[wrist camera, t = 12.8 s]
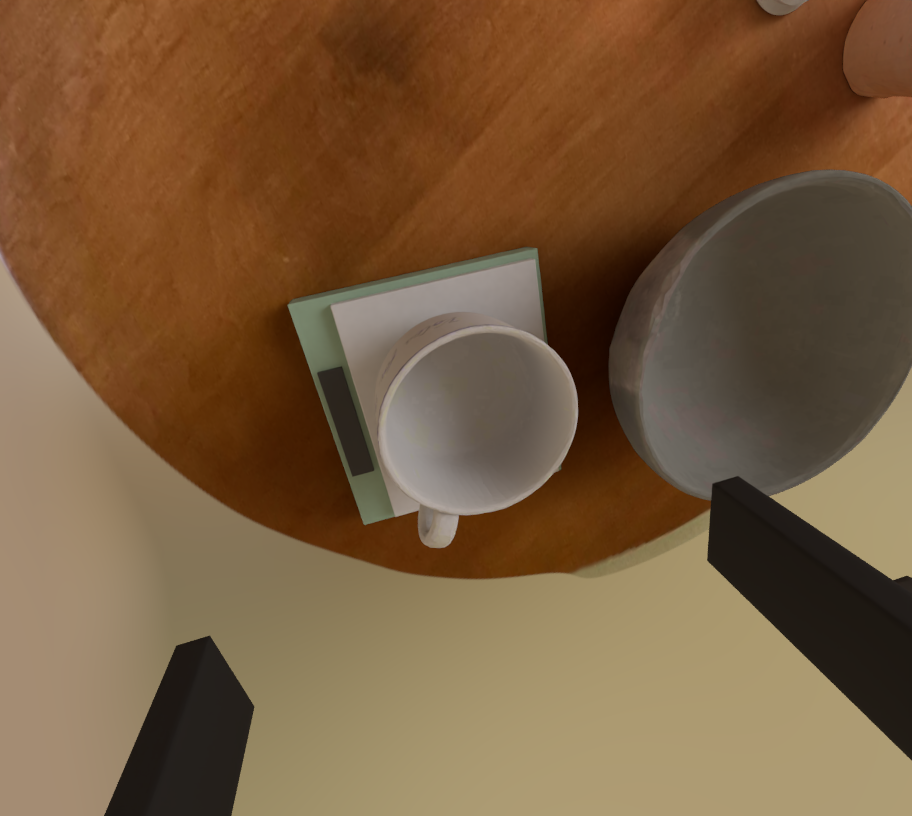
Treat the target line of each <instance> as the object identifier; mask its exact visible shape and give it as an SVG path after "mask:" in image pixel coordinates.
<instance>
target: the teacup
mask: <svg viewBox="0 0 912 816" xmlns="http://www.w3.org/2000/svg"><path fill="white" fill-rule="evenodd" d="M375 416H376V424H377V439H378V447H379V453H380V457H381V460H382V462H383V464H384V466H385V468H386V470H387V472H388V474H389V476H390V478H391V479H392V481H393V482H394V483H395V485H396V486H397V487H398V488H399V489H400V490H401V491H402V492H403V493H404V494H405V495H407V496H408V497H410V498H411V499H413V500H414V501H416V502H418V503H420V507H419V515H418V530H419V536H420V539H421V541H422V542H423V544H425V545H426V546H429V547H433V548H443V547H446V546H448V545H449V544H450V543H451V541H452V540H453V538H454V535H455V532H456V529H457V524H458V517H459V515H475V514H482V513H485V512H493V511H497V510H501V509H504V508H506V507H509V506H511V505H513V504H515V503H517V502H519V501H521V500H523V499H524V498H526V497H527V496H529V495H530V494H532V493H533V492H534V491H536V490H537V489H538V488H540V487H541V486H542V485H543V484H544V483H545V482H546V481H547V480H548V479H549V478H550V477H551V476H552V474H553V473H554V472H555V470H556V469H557V468H558V467H559V466H560V464H561V463H562V461H563V460H564V458H565V456H566V454H567V452H568V450H569V448H570V446H571V443H572V441H573V438H574V435H575V431H576V426H577V420H578V398H577V392H576V387H575V384H574V381H573V378H572V376H571V373H570V371H569V369H568V367H567V366H566V364H565V363H564V361H563V360H562V359H561V358H560V356H559V355H558V354H557V353H556V352H555V350H553V349H552V348H550V347H549V346H548V345H547V344H546V343H545V342H544V341H542V340H541V339H539V338H537V337H536V336H534V335H532V334H530V333H528V332H525V331H523V330H520V329H517V328H515V327H513V326H511V325H509V324H507V323H505V322H503V321H501V320H498V319H496V318H493V317H490V316H487V315H483V314H478V313H472V312H454V313H446V314H442V315H438V316H435V317H432V318H429V319H427V320H425V321H423V322H421V323H419V324H418V325H416V326H414V327H413V328H412V329H410V330H409V331H408V332H406V333H405V334H404V335H403V336H402V337H401V338H400V339H399V340H398V341H397V342H396V343H395V344H394V346H393V347H392V348H391V350H390V351H389V353H388V354H387V356H386V358H385V360H384V361H383V363H382V366H381V369H380V371H379V374H378V378H377V382H376V388H375Z"/></svg>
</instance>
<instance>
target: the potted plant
mask: <svg viewBox="0 0 912 816" xmlns="http://www.w3.org/2000/svg"><path fill="white" fill-rule="evenodd" d="M843 71H844V74H845V76H846V78H847V80H848V83H849V85H850V87H851V89H852V91H854V92H855V93H856V94H858V95H861V96H867V97H876V98H888V97H892V96H907V97H912V0H867V1H866V2H865V3H864V5H863V6H862V7H861V9H860V10H859V12H858V13H857V15H856V17H855V19H854V21H853V23H852V25H851V26H850V29H849V32H848V35H847V38H846V40H845V46H844V52H843Z"/></svg>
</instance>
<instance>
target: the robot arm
mask: <svg viewBox="0 0 912 816" xmlns="http://www.w3.org/2000/svg"><path fill="white" fill-rule="evenodd" d="M707 560H708V562H709V563H710V564H711V565H713V566H714V567H715V569H716V570H717V571H719V572H720V573H721V574H722V575H723V576H724V577H725V578H726V579H727V580H728V581H729V582H730V583H731V584H732V585H733V586H734V587H735V588H736V589H737V590H738V591H739V592H740V593H741V594H742V595H743V596H744V597H745V598H746V599H747V600H748V601H749V602H750V603H751V604H752V605H753V606H755V608H756V609H757V610H758V611H759V612H760V613H762V614H763V616H765V617H766V618H767V619H768V620H769V621H770V622H771V623H772V624H773V625H774V626H775V627H776V628H777V629H778V630H779V631H780V632H781V633H782V634H783V635H784V636H785V637H786V638H787V639H788V640H789V641H790V642H791V643H792V644H793V645H794V646H795V647H796V648H797V649H798V650H799V651H800V652H801V653H802V654H804V656H805V657H807V658H808V659H809V660H810V661H811V662H812V663H813V664H814V665H815V666H816V667H817V668H818V669H819V670H820V671H821V672H822V673H823V674H824V675H825V676H826V677H827V678H828V679H829V680H830V681H831V682H832V683H833V684H834V685H835V686H836V687H837V688H838V689H839V690H840V691H841V692H842V693H844V695H846V697H847V698H848V699H849V700H850V701H851V702H852V703H854V704H855V705H856V706H857V707H858V708H859V709H860V710H861V711H862V712H863V713H864V714H865V715H866V716H867V717H868V718H869V719H870V720H871V721H872V722H873V723H874V724H875V725H876V726H877V727H878V728H879V729H880V730H881V731H882V732H883V733H884V734H885V735H886V736H887V737H888V738H889V739H890V740H891V741H892V742H893V743H894V744H895V745H896V746H898V747H899V748H900V749H901V750H902V751H903V752H904V753H905V754H906V755H907V756H908V757H909V758H910V759H911V760H912V578H911V577H909V576H905V577H902V578H899V579H896V580H891V579H890V578H888V577H887V576H885V575H884V574H883V573H881V572H880V571H878V570H877V569H875V568H874V567H872V566H871V565H869V564H868V563H866V562H865V561H863V560H862V559H860V558H859V557H857V556H856V555H854V554H853V553H851V552H850V551H848V550H847V549H845V548H844V547H843V546H841V545H840V544H838V543H837V542H835V541H834V540H832V539H831V538H829V537H828V536H826V535H825V534H823V533H822V532H820V531H819V530H817V529H816V528H814V527H813V526H812V525H810V524H809V523H807V522H806V521H804V520H803V519H801V518H800V517H798V516H797V515H795V514H794V513H792V512H791V511H789V510H788V509H786V508H785V507H783V506H782V505H780V504H779V503H777V502H776V501H775V500H773V499H772V498H770V497H769V496H767V495H766V494H764V493H763V492H761V491H760V490H758V489H757V488H755V487H754V486H752V485H751V484H749V483H748V482H746V481H745V480H743V479H742V478H741V477H739V476H736V477H733V478H729V479H726V480H723V481H719V482H716V483H713V484H712V496H711V511H710V527H709V542H708V559H707ZM253 711H254V705H253V704H252V702H251V700H250V699H249V697H248V696H247V694H246V692H245V691H244V689H243V688H242V686H241V685H240V683H239V681H238V680H237V678H236V676H235V675H234V673H233V672H232V670H231V669H230V667H229V665H228V664H227V662H226V661H225V659H224V657H223V656H222V654H221V653H220V651H219V649H218V648H217V646H216V645H215V643H214V642H213V640H212V638H211V637H210V636H207V637H204V638H200V639H197V640H194V641H190V642H187V643H184V644H180V645H178V646H176V648H175V650H174V653H173V655H172V657H171V660H170V662H169V664H168V667H167V669H166V671H165V674H164V676H163V679H162V681H161V683H160V686H159V688H158V690H157V693H156V695H155V697H154V700H153V702H152V705H151V707H150V709H149V712H148V714H147V716H146V719H145V721H144V723H143V726H142V728H141V730H140V733H139V735H138V737H137V740H136V742H135V745H134V747H133V749H132V752H131V754H130V756H129V759H128V761H127V763H126V766H125V768H124V770H123V773H122V775H121V777H120V780H119V782H118V784H117V787H116V789H115V791H114V794H113V797H112V799H111V801H110V803H109V806H108V808H107V810H106V813H105V815H104V816H231V814H232V809H233V804H234V800H235V795H236V791H237V786H238V781H239V777H240V772H241V767H242V762H243V758H244V753H245V748H246V743H247V739H248V734H249V729H250V725H251V719H252V715H253Z"/></svg>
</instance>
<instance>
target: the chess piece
mask: <svg viewBox="0 0 912 816" xmlns="http://www.w3.org/2000/svg"><path fill="white" fill-rule="evenodd" d="M756 1H757V3H758V4H759V5H760V6H761V7H762V8H763V9H764V10H766V11H767V12H768V13H771V14H773V15H785V14H788V13H790V12H792V11H794V10H796V9H797V8H798V7H800V6H801V5H802V4H803V3H804V2H806V1H808V0H756Z"/></svg>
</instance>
